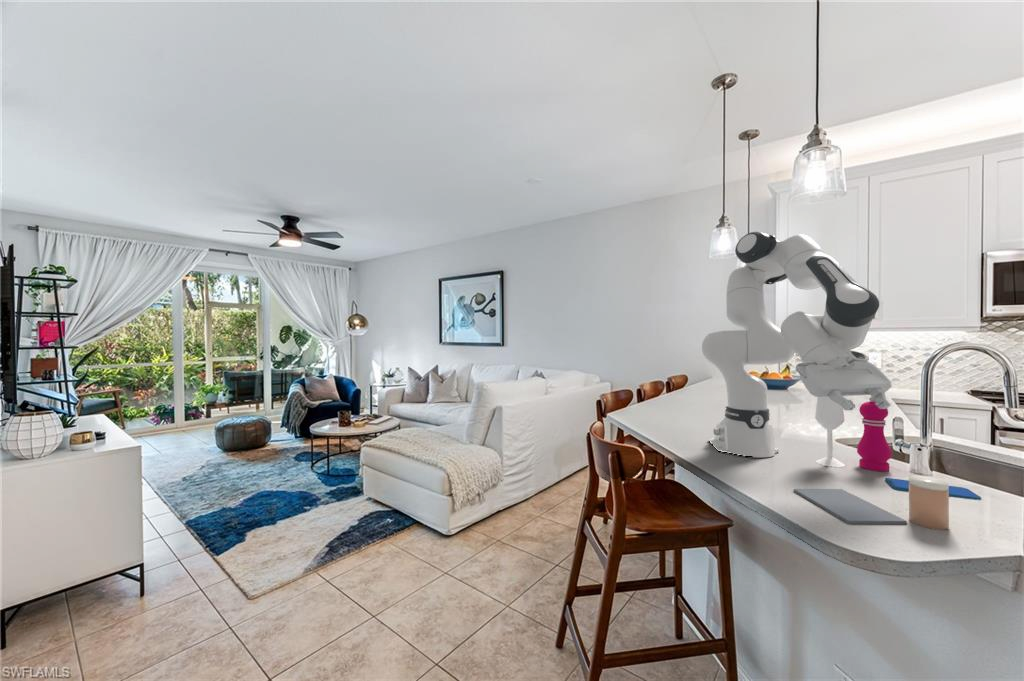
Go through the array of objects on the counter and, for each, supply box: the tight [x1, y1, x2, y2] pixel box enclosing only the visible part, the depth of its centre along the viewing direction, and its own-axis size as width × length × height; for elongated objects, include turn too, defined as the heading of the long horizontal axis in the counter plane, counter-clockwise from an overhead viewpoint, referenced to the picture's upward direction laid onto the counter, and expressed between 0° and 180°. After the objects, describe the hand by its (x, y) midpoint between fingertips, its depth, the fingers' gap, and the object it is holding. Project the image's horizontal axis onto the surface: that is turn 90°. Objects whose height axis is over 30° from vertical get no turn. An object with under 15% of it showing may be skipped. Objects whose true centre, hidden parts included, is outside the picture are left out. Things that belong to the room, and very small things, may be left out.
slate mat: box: [793, 488, 908, 525], centre depth 89 cm, size 17×11×1 cm, turn 177°
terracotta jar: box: [908, 475, 950, 531], centre depth 80 cm, size 6×6×8 cm
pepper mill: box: [856, 395, 893, 472], centre depth 113 cm, size 7×7×20 cm
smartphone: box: [884, 477, 982, 500], centre depth 97 cm, size 7×1×15 cm
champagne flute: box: [814, 397, 846, 468], centre depth 118 cm, size 7×7×24 cm
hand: (868, 408), depth 93 cm, fingers open, 8 cm apart
